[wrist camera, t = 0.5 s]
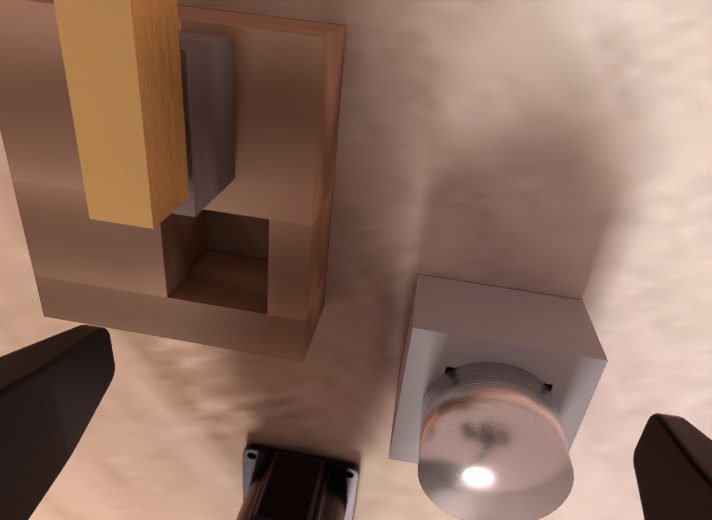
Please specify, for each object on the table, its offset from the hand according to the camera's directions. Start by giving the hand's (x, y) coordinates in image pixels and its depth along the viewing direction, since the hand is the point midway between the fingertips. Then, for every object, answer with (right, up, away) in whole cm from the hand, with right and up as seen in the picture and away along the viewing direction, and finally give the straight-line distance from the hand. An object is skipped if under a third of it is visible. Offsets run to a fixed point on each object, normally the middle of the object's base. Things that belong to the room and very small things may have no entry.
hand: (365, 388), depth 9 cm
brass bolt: (-5, +7, +4) cm, 9 cm away
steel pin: (+6, -2, +15) cm, 16 cm away
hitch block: (-6, +6, +13) cm, 16 cm away
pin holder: (+6, -2, +16) cm, 17 cm away
